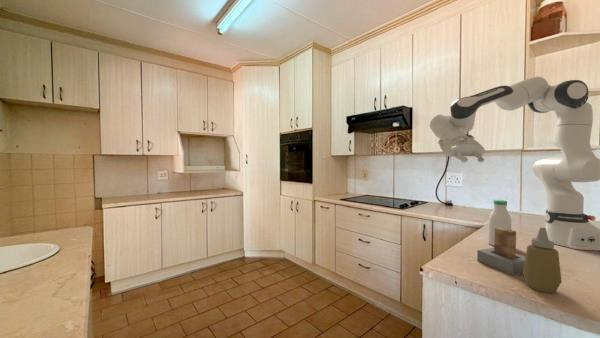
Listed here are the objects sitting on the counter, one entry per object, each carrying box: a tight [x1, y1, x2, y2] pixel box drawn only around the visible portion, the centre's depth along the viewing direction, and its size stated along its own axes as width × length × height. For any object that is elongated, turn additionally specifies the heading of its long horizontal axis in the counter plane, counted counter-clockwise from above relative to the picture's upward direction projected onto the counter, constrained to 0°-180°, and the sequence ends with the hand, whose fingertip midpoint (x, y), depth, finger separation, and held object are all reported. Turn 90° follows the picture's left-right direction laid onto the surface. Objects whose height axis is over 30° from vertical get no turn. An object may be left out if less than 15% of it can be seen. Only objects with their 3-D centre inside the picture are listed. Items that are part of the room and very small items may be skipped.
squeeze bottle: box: [522, 227, 562, 294], centre depth 70 cm, size 8×8×18 cm
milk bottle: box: [487, 199, 512, 247], centre depth 106 cm, size 8×8×20 cm
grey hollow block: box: [476, 247, 526, 276], centre depth 86 cm, size 12×10×4 cm
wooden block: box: [493, 228, 517, 259], centre depth 86 cm, size 5×3×12 cm, turn 16°
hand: (474, 161), depth 103 cm, fingers open, 8 cm apart
